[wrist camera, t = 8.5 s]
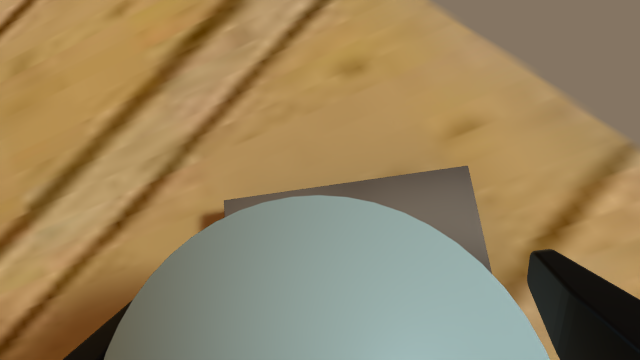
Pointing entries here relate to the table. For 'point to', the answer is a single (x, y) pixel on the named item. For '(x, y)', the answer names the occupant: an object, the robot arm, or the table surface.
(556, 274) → the robot arm
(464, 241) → the grey square slab
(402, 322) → the sage wooden pillar
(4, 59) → the table surface
